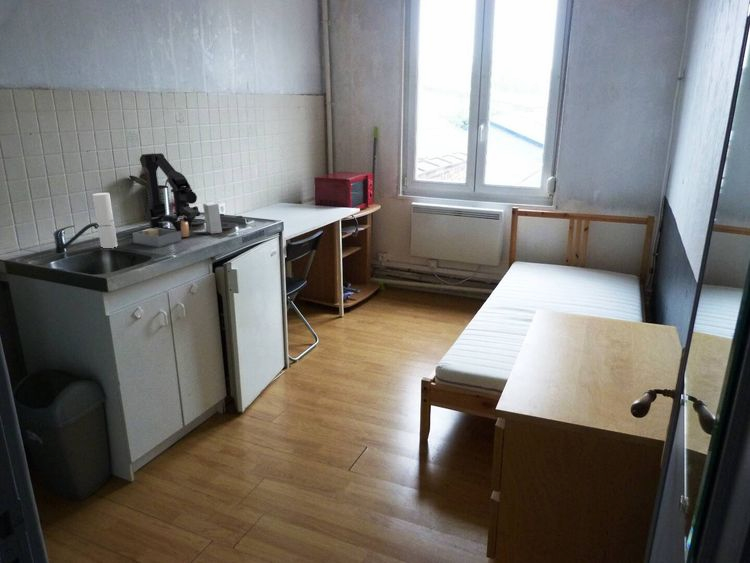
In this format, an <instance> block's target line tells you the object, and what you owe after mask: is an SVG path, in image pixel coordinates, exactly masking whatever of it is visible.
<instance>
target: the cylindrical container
mask: <svg viewBox="0 0 750 563" xmlns="http://www.w3.org/2000/svg"><path fill="white" fill-rule="evenodd" d="M91 197H92V200H93V206H94V213H95V214H94V215H95V220H96V224H98V225H99V227H98V226H97V231H98V236H99V241H100V242H99V244H100V248H101V247H103V248H112V249H115V248H114V247H116V248H118V247H117V246H118V239H117V233H116V226H115V220H114V214H113V208H112V201H111V194H110V192H97V193H92V196H91Z"/></svg>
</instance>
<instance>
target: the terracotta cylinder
mask: <svg viewBox="0 0 750 563" xmlns="http://www.w3.org/2000/svg"><path fill="white" fill-rule="evenodd" d="M180 221H181V223H180V227H181V238H185V237H186V238H187V237H190V235H191V234H190V230H189V225H188V221H184V220H180Z"/></svg>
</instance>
